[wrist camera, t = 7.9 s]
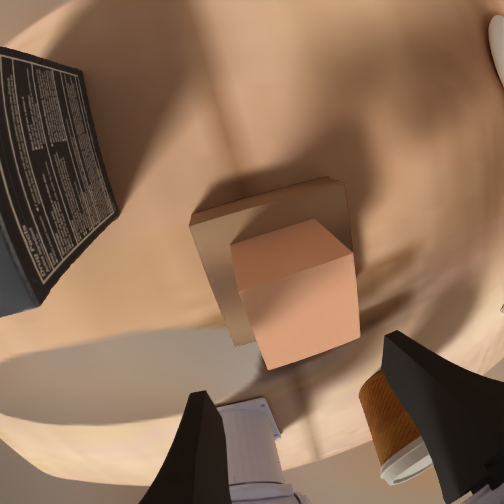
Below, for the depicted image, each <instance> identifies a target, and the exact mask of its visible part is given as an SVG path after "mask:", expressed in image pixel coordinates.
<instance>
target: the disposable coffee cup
mask: <svg viewBox="0 0 504 504" xmlns="http://www.w3.org/2000/svg"><path fill="white" fill-rule="evenodd" d="M359 399H360V401H361V404H362V407H363V410H364V413H365V416H366V419H367V422H368V426H369V429H370V432H371V435H372V438H373V441H374V445H375V448H376V451H377V454H378V458H379V461H380V464H381V469H380V471H381V474H380V477H381V478H382V479H385V480H386V481H387V482H388V484H389V485H396V484H399V483H402V482H404V481H407V480H409V479H411V478H413V477H415V476H417V475H419V474H420V473H422V472H424V471H425V470H427V469H429V468H430V467H432V466H433V462H432V459H431V457H430V455H429V452H428V450H427V447H426V445H425V443H424V441H423V439H422V437H421V434H420V432H419V430H418V429H417V427H416V425H415V423H414V422H413V420H412V419H411V417H410V416H409V414H408V413H407V411H406V410H405V408H404V407H403V405H402V404H401V402H400V401H399V399H398V398H397V396H396V395H395V393H394V392H393V390H392V389H391V387H390V385H389V383H388V381H387V379H386V377H385V375H384V373H383V371H380V372H379V373H377V374H375V375H374V376H373V377H372V378H370V379H369V380H368V381H367V382H366V383H365V384H364V386H363V387H362V388H361V390H360V393H359Z"/></svg>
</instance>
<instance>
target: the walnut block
mask: <svg viewBox="0 0 504 504" xmlns="http://www.w3.org/2000/svg"><path fill="white" fill-rule="evenodd" d="M310 219H315V220H316V221H318V222H319V223H320V224H321V225H322V226H323V227H324V228H326V229H327V230H328V231H329V232H330V233H331V234H332V235H333V236H335V237H336V238H337V239H338V240H339V241H340V242H341V243H342V244H343V245H345V246H346V247H347V248H348V249H349V250H350V251H351V252H352V253H353V247H352V238H351V229H350V221H349V213H348V206H347V199H346V193H345V186H344V183H342V182H340V181H338V180H335V179H333V178H330V177H328V176H327V177H323V178H319V179H315V180H311V181H307V182H303V183H299V184H295V185H291V186H288V187H284V188H280V189H276V190H273V191H269V192H265V193H262V194H258V195H255V196H251V197H248V198H244V199H241V200H237V201H234V202H230V203H227V204H224V205H220V206H217V207H214V208H210V209H207V210H204V211H201V212H197V213H194V214H192V215H191V220H190V224H189V228H190V231H191V234H192V237H193V240H194V242H195V245H196V248H197V251H198V253H199V256H200V259H201V261H202V264H203V267H204V270H205V272H206V275H207V278H208V280H209V283H210V285H211V288H212V291H213V293H214V296H215V298H216V301H217V303H218V306H219V309H220V311H221V314H222V316H223V319H224V321H225V323H226V326H227V328H228V331H229V333H230V336H231V338H232V341H233V343H234V345H235V347H236V346H240V345H244V344H247V343H251V342H254V341H257V340H256V338H255V335H254V332H253V330H252V327H251V325H250V322H249V319H248V317H247V314H246V311H245V309H244V306H243V303H242V301H241V298H240V295H239V293H238V288H237V283H236V278H235V272H234V267H233V261H232V256H231V250H230V245H231V244H234V243H238V242H241V241H244V240H247V239H250V238H253V237H256V236H259V235H263V234H266V233H269V232H272V231H275V230H278V229H282V228H285V227H288V226H291V225H294V224H298V223H301V222H304V221H307V220H310Z"/></svg>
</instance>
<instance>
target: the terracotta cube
mask: <svg viewBox="0 0 504 504" xmlns="http://www.w3.org/2000/svg"><path fill="white" fill-rule="evenodd" d="M230 250H231V256H232V261H233V267H234V272H235V278H236V283H237V288H238V293H239V295H240V298H241V301H242V303H243V306H244V309H245V311H246V314H247V317H248V319H249V322H250V325H251V327H252V330H253V332H254V335H255V338H256V340H257V343H258V345H259V348H260V351H261V353H262V356H263V358H264V361H265V363H266V366H267V369H268V370H271V369H274V368H277V367H281V366H284V365H287V364H290V363H293V362H296V361H299V360H302V359H305V358H308V357H310V356H313V355H316V354H319V353H322V352H324V351H327V350H330V349H332V348H335V347H337V346H340V345H343V344H345V343H348V342H350V341H353V340H355V339H357V338H360V323H359V308H358V296H357V285H356V275H355V265H354V257H353V253H352V252H351V251H350V250H349V249H348V248H347V247H346V246H345V245H343V244H342V243H341V242H340V241H339V240H338V239H337V238H336V237H335V236H333V235H332V234H331V233H330V232H329V231H328V230H327V229H326V228H324V227H323V226H322V225H321V224H320V223H319V222H318V221H316V220H315V219H310V220H307V221H304V222H301V223H298V224H294V225H291V226H288V227H285V228H282V229H278V230H275V231H272V232H269V233H266V234H263V235H259V236H256V237H253V238H250V239H247V240H244V241H241V242H238V243H234V244H231V245H230Z"/></svg>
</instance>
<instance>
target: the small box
mask: <svg viewBox="0 0 504 504" xmlns="http://www.w3.org/2000/svg"><path fill="white" fill-rule="evenodd" d="M118 217H119V211H118V209H117V206H116V203H115V200H114V196H113V193H112V190H111V187H110V184H109V181H108V178H107V174H106V171H105V166H104V164H103V161H102V157H101V153H100V149H99V146H98V142H97V138H96V134H95V130H94V126H93V122H92V118H91V113H90V109H89V104H88V99H87V94H86V90H85V85H84V80H83V74H82V71H81V70H79V69H77V68H71V67H68V66H65V65H61V64H58V63H56V62H52V61H50V60H47V59H43V58H40V57H37V56H34V55H31V54H28V53H24V52H20V51H17V50H14V49H9V48H6V47H0V318H1V317H4V316H8V315H12V314H16V313H20V312H23V311H27V310H31V309H34V308H37V307H39V306H41V304H42V303H43V301H44V300H45V299H46V297H47V296H48V294H49V293H50V290H51V288H53V287H54V285H55V284H56V283H57V282H58V280H59V278H60V277H61V276H62V275H63V274H64V273H65V272H66V270H67V269H68V268H69V267H70V265H71V264H72V263H74V262H75V260H76V259H77V258H78V257H79V256H80V255H81V254H82V253H83V252H84V251H85V249H86V248H87V247H88V246H89V245H90V244H91V243H92V242H93V241H94V240H95V239H96V238H97V237H98V236H99V234H101V233H102V232H103V231H104V230H105V229H106V227H107V226H108V225H110V224H111V223H112V222H113V221H115V220H116V219H117V218H118Z"/></svg>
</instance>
